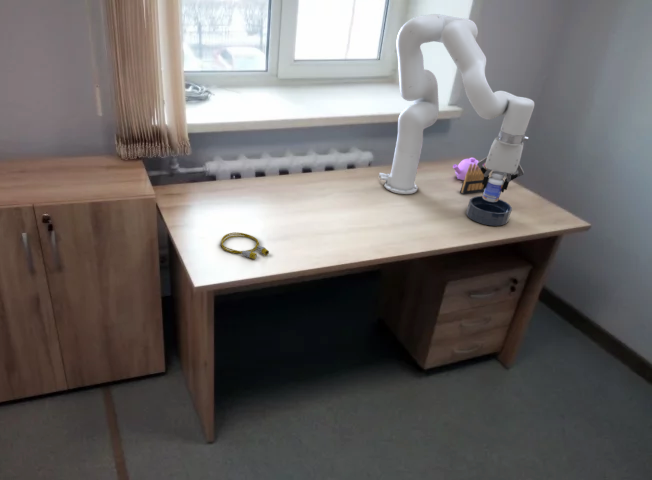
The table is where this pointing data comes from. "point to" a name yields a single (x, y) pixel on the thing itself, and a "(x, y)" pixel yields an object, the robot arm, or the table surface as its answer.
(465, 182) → the ammunition clip
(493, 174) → the pill bottle
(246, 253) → the extension cord
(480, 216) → the bowl
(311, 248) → the table surface
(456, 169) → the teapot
